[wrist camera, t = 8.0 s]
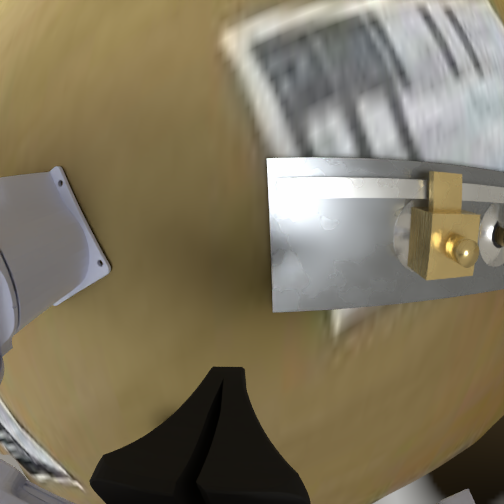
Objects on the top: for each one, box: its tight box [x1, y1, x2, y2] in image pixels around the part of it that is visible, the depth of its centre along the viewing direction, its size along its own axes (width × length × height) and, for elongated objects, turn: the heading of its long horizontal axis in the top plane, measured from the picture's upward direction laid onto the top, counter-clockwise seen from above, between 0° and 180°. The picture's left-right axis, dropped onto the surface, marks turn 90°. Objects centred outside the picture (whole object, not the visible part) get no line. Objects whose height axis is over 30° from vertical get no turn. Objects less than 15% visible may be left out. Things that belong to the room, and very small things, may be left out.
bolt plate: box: [267, 157, 504, 312], centre depth 16 cm, size 22×10×7 cm, turn 93°
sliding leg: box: [407, 171, 480, 280], centre depth 15 cm, size 4×6×4 cm, turn 3°
